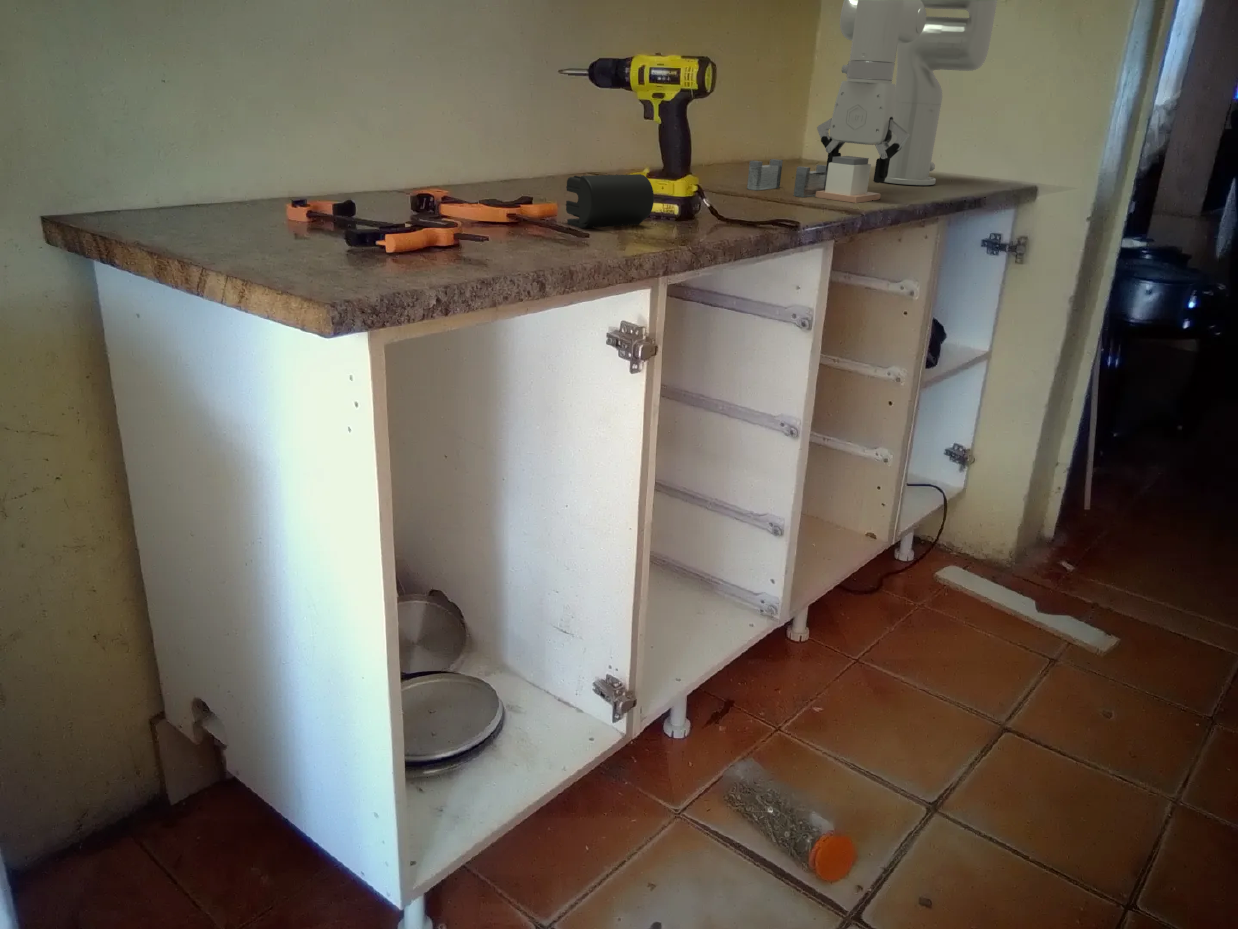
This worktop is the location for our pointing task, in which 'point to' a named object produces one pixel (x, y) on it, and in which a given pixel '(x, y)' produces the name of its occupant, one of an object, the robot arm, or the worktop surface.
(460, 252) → the worktop surface
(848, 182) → the white box with lid
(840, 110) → the robot arm
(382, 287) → the worktop surface
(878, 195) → the pad
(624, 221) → the end cap
